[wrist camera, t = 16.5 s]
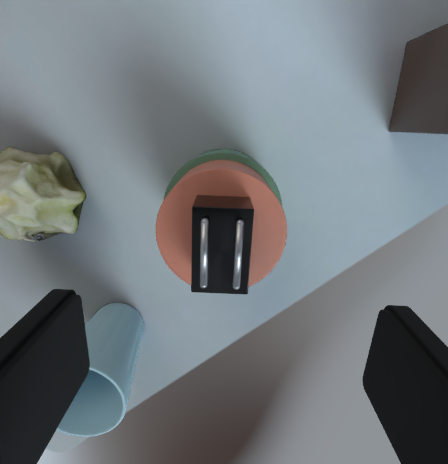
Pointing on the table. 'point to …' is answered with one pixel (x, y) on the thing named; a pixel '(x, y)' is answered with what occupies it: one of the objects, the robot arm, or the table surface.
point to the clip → (221, 244)
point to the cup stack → (221, 184)
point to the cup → (106, 371)
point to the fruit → (38, 195)
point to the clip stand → (423, 86)
